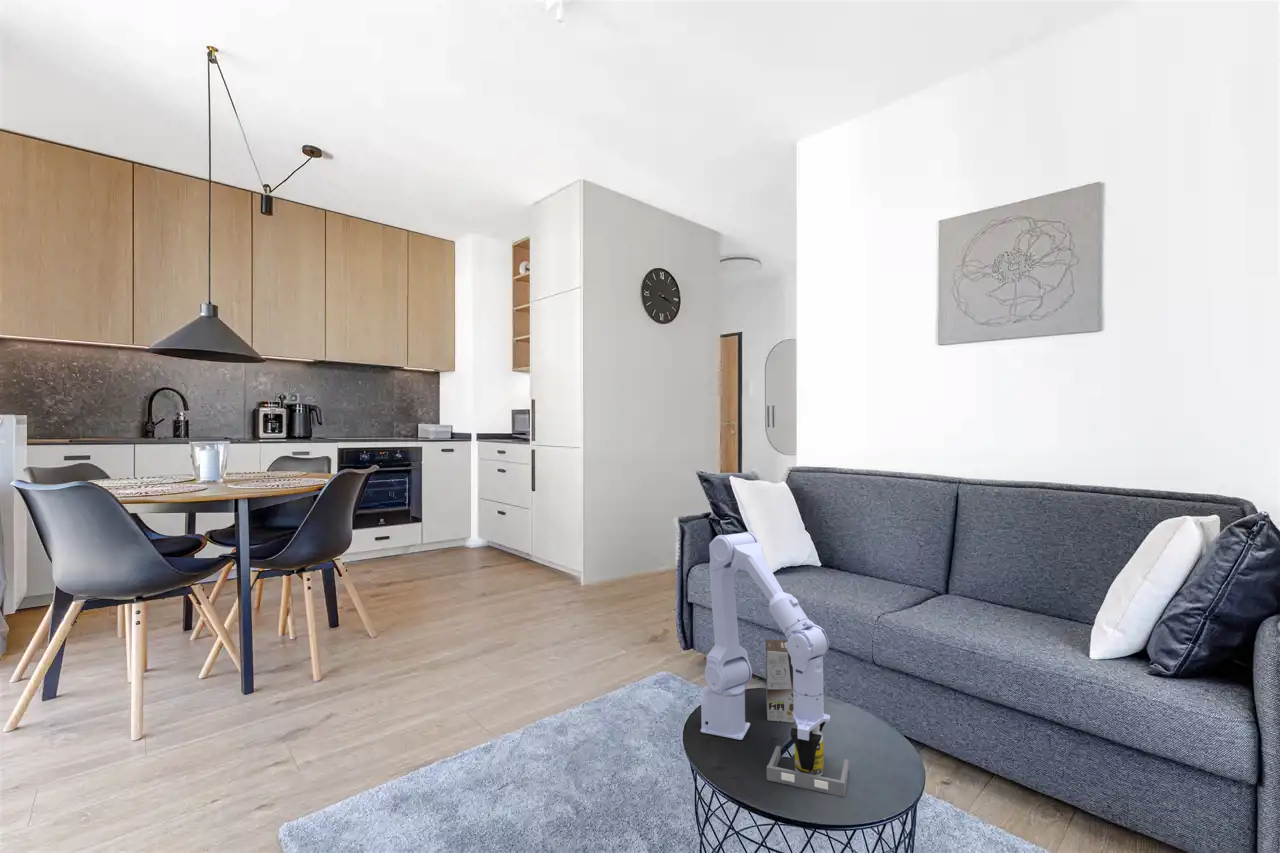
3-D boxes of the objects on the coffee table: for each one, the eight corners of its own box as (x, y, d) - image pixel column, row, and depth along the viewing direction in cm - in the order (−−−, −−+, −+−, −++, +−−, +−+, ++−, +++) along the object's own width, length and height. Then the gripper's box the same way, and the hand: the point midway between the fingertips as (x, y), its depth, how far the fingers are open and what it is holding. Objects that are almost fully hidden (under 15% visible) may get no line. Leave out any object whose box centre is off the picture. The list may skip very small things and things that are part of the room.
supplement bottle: (810, 782, 112) (809, 729, 112) (789, 769, 116) (788, 718, 117) (829, 773, 114) (829, 722, 115) (808, 761, 119) (807, 711, 119)
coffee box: (795, 723, 136) (794, 652, 136) (766, 721, 137) (765, 650, 138) (793, 706, 145) (792, 639, 145) (766, 704, 146) (765, 638, 147)
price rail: (766, 780, 112) (766, 767, 112) (776, 755, 121) (776, 743, 121) (844, 797, 106) (844, 784, 107) (848, 770, 116) (848, 757, 116)
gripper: (825, 708, 108) (826, 785, 107) (833, 680, 121) (834, 748, 120) (785, 702, 111) (786, 776, 110) (798, 675, 124) (799, 741, 123)
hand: (809, 761), depth 115 cm, fingers closed on supplement bottle, 5 cm apart
